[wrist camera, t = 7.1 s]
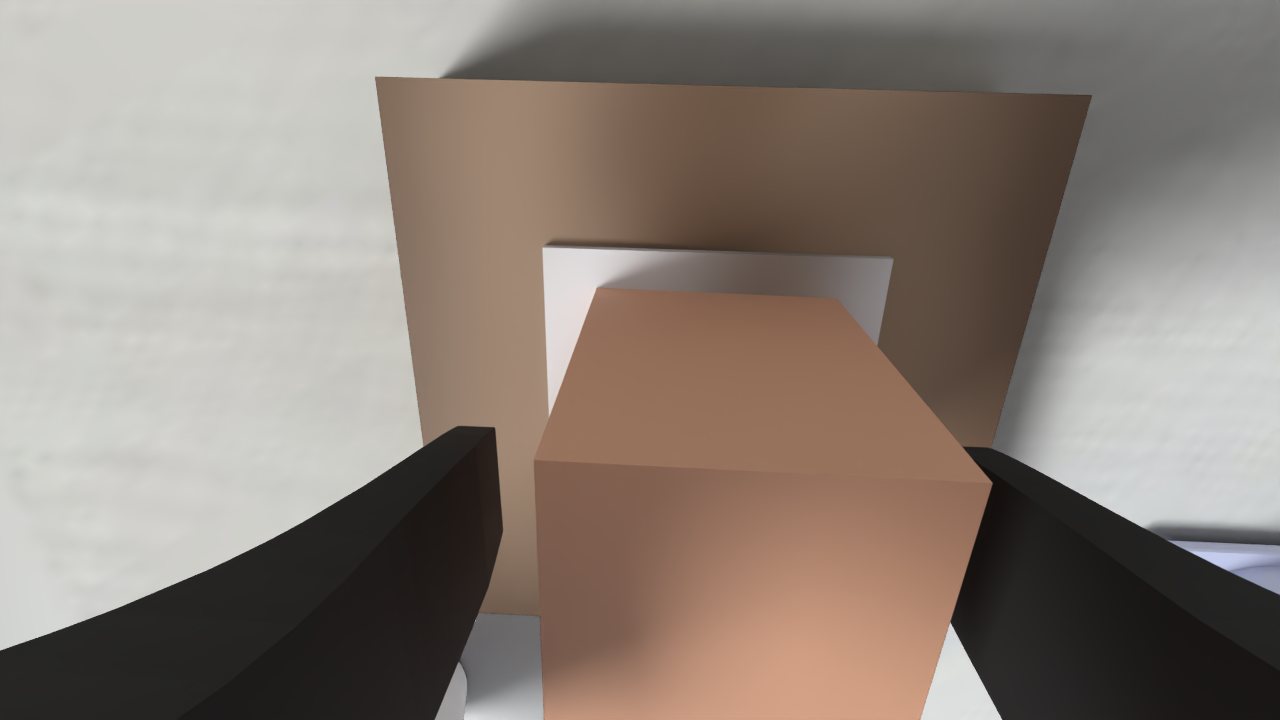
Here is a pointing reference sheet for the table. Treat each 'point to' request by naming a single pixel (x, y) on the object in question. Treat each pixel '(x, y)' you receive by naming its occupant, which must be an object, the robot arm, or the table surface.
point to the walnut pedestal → (708, 236)
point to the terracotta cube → (744, 517)
